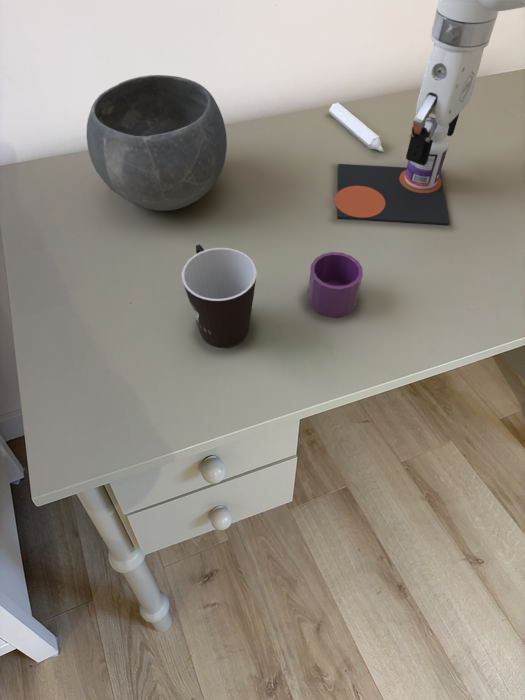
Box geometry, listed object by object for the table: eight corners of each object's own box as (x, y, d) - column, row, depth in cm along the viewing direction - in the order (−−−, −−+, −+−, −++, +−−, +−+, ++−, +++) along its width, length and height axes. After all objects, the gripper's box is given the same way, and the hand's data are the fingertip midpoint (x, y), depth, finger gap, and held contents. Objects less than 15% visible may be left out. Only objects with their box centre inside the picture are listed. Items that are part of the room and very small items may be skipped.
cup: (356, 283, 74) (362, 253, 69) (356, 319, 70) (363, 290, 65) (308, 280, 74) (311, 250, 70) (306, 315, 70) (309, 286, 66)
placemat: (438, 171, 89) (439, 168, 89) (448, 225, 81) (449, 222, 81) (335, 165, 90) (335, 163, 90) (333, 218, 82) (334, 215, 82)
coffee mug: (256, 355, 66) (255, 301, 58) (188, 354, 66) (177, 300, 58) (258, 287, 73) (257, 231, 65) (196, 287, 73) (188, 230, 65)
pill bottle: (423, 167, 89) (438, 111, 82) (444, 184, 86) (461, 128, 79) (397, 176, 88) (410, 120, 80) (417, 194, 85) (432, 138, 77)
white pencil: (382, 161, 93) (332, 117, 101) (391, 152, 92) (340, 109, 101) (378, 151, 90) (327, 107, 99) (388, 142, 90) (336, 99, 98)
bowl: (176, 142, 95) (164, 55, 83) (256, 193, 86) (255, 103, 74) (79, 191, 86) (50, 101, 74) (157, 253, 77) (137, 162, 65)
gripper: (463, 60, 63) (428, 182, 77) (514, 11, 72) (474, 129, 85) (406, 44, 66) (382, 165, 79) (461, -1, 74) (430, 115, 88)
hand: (429, 146), depth 82 cm, fingers open, 9 cm apart
